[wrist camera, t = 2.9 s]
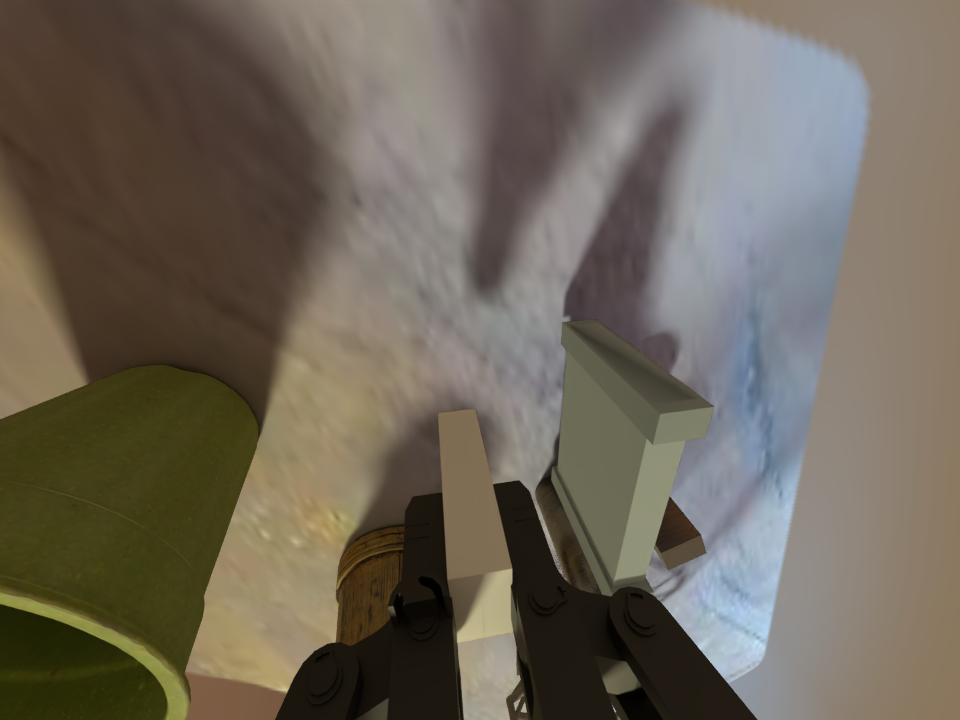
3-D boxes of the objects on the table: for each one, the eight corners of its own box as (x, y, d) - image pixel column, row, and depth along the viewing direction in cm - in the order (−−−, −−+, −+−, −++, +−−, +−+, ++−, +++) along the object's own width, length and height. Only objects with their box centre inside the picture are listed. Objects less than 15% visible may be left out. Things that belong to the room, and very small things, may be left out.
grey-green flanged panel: (577, 475, 22) (648, 607, 15) (551, 480, 22) (611, 615, 15) (595, 319, 17) (714, 406, 10) (562, 322, 17) (660, 414, 10)
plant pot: (-3, 442, 17) (-635, 819, 7) (104, 261, 14) (-681, 438, 4) (238, 531, 21) (79, 827, 12) (351, 409, 19) (272, 656, 9)
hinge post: (528, 486, 24) (591, 663, 15) (569, 466, 23) (659, 634, 14) (545, 512, 25) (612, 687, 16) (584, 493, 25) (674, 660, 16)
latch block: (608, 474, 24) (660, 553, 19) (639, 459, 24) (701, 534, 19) (616, 490, 25) (668, 570, 20) (646, 476, 25) (706, 552, 20)
